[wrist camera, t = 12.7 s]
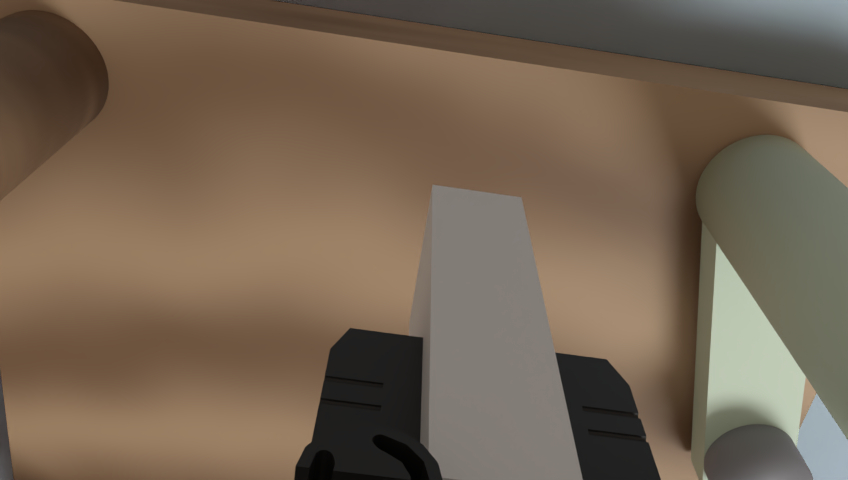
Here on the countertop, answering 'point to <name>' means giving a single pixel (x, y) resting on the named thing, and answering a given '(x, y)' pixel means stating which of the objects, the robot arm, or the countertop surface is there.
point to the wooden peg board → (328, 214)
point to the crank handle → (767, 308)
